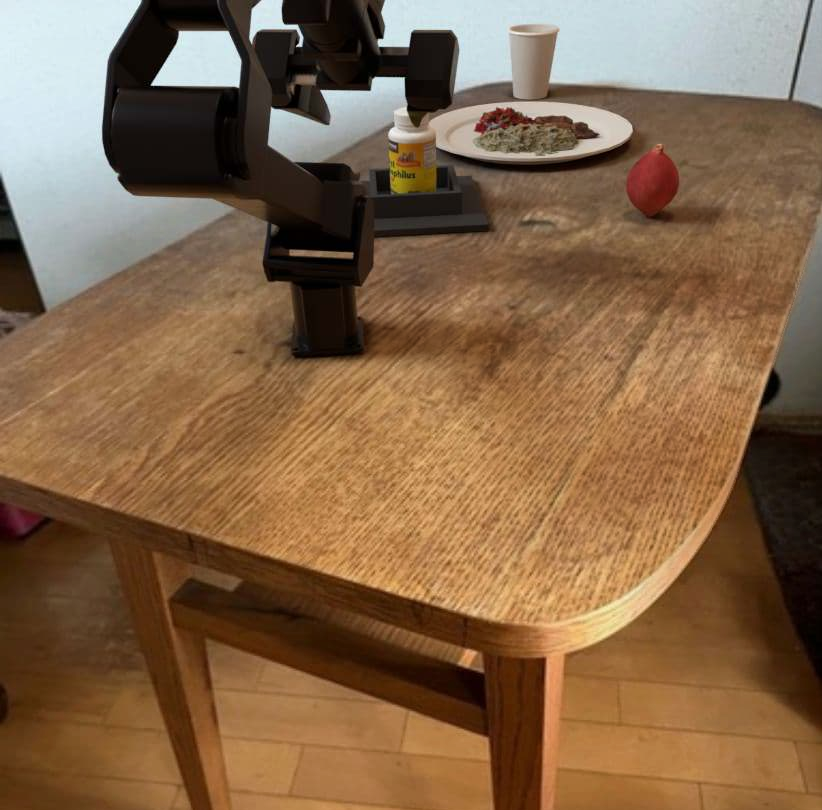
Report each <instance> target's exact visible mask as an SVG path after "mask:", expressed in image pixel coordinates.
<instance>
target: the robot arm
mask: <svg viewBox="0 0 822 810" xmlns="http://www.w3.org/2000/svg"><path fill="white" fill-rule="evenodd" d="M261 1H262V0H141V1H140V4H139V5H138V7H137V9H136V10H135V12H134V14H133V15H132V17H131V19H130V20H129V22H128V23H127V25H126V27H125V29H124V30H123V31H122V34H120V37H119V38H118V40H117V42H116V43H115V45H114V47H113V48H112V50H111V51H110V52H109V55H108V58H107V63H106V74H105V75H106V76H105V86H104V97H103V110H102V111H103V112H102V122H101V140H102V141H101V142H102V147H103V151H104V156H105V158H106V161H107V163H108V165H109V167H110V168H111V169H112V170H113V172H115V174H117V181H118V182H119V184H120V185H121V187H123V189H124V190H125V191H126V192H128V193H129V194H131V195H132V196H135V197H153V198H177V199H178V198H179V199H181V198H182V199H207V200H208V199H210V200H214V201H217V202H219V203H221V204H224V205H226V206H229V207H230V208H233V209H235V210H238V211H239V212H242V213H245V214H246V215H250V216H252V217H254V218H256V219H259V220H261V221H264V222H267V224H266V235H265V242H264V249H263V255H262V268H263V272H264V274H265V277H266V280H267V282H268V283H275V282H279V283H281V282H282V283H283V282H284V283H289V288H290V289H289V290H290V298H291V304H292V311H293V313H292V314H293V320H294V321H293V324H292V333H291V341H290V355H291V356H292V357H308V356H309V357H310V356H324V355H327V356H328V355H343V354H344V355H345V354H358V353H362V352H364V350H365V344H364V343H365V341H364V339H365V338H364V319H363V318H364V317H362V316H359V315H358V303H357V292H356V288H362V287H363V285H364V283H365V282H366V280H367V278H368V276H370V273H371V272H372V270H373V268H374V262H375V261H374V260H375V259H374V258H375V237H374V221H375V213H374V203H373V199H372V197H371V196H367V191H366V188H365V187H364V185H363V184H362V183H361V182H360V181H361V180H360V179H361V172H359V171H354V170H353V169H352V167H351V166H349V165H348V164H346V163H344V162H314V161H313V162H312V161H311V162H310V161H292V160H291V159H290V158H288V157H286V156H285V155H284V154H282V153H280V152H279V151H278V150H276V149H275V148H274V147H272V146H271V145H269V138H270V137H269V136H270V125H271V117H272V115H271V114H272V109H273V110H278V111H279V110H280V111H284V112H287V113H290V114H294V115H297V116H300V117H302V118H306V119H308V120H310V121H313V122H316V123H319V124H321V125H324V126H330V125H331V118H332V115H331V112H330V109H329V105H328V103H327V101H326V99H325V97H324V94H323V93H322V91H341V92H342V91H344V92H348V91H349V92H372V86H373V80H374V79H375V78H400V79H401V78H402V79H403V78H404V79H403V81H404V97H405V101H406V107H407V113H408V115H409V118H410V120H411V122H412V124H413V125H414V126H415V127H416V128H419V127H420V124H421V121H422V118H423V117H424V116H425V115H426V114H427V113H429V114H434V113H437V112H438V111H439V110H447V109H448V108H449V107H451V105H453V101H454V94H455V87H456V79H457V71H458V63H459V57H460V56H459V55H460V44H459V39H458V37H457V35H456V33H455V32H454V31H453V30H452V29H413V30H412V31H411V32H410V37H409V43H408V44H409V45H408V46H379V40H384V39H385V33H386V32H385V31H386V24H385V20H384V18H383V14H382V12H383V8H384V5H385V2H386V0H282V2H281V21H282V23H283V25H285V26H297V27H298V29H299V31H300V33H301V36H302V44H301V46H298V45H299V44H300V40H301V36H300V33H299V32H298V29H296V28H295V29H292V28H290V29H289V28H288V29H287V28H283V29H281V28H280V29H279V28H278V29H277V28H276V29H274V28H271V29H270V28H268V29H267V28H263V29H259V30H257V31H256V33H255V34H254V36H253V37H252V40H251V38H250V36H251V35H250V34H251V23H252V14H253V13H252V11H253V9H255V7H257V5H258V4H259V3H260V2H261ZM180 32H228V34H229V36H230V38H231V40H232V43H233V45H234V47H235V50H236V52H237V54H238V57H239V58H240V61H241V62H240V72H239V85H238V86H234V85H233V86H227V85H226V86H225V85H224V86H223V85H220V86H219V85H152V84H153V83H154V81H155V79H156V78H157V77H158V75H159V73H160V71H161V70H162V68H163V66H164V65H165V63H166V62H167V60H168V58H169V57H170V55H171V54H172V52H173V50H174V49H175V47H176V45H177V43H178V40H179V37H180ZM251 41H252V42H251ZM291 251H307V252H309V251H311V252H329V253H330V252H331V253H351V254H352V257H334V256H315V255H293V254H292V255H291V254H290V252H291Z"/></svg>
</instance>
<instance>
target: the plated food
mask: <svg viewBox="0 0 822 810" xmlns="http://www.w3.org/2000/svg"><path fill="white" fill-rule="evenodd" d="M429 126H431V127H432V128H434V130H435V132H436V148H438V149H440V150H443V151H446V152H449V153H452V154H456V155H459V156H463V157H466V158H468V159H471V160H476V161H481V162H487V163H492V164H501V165H516V166H517V165H518V166H519V165H520V166H521V165H522V166H526V165H527V166H532V165H550V164H559V163H566V162H572V161H576V160H581V159H584V158H589V157H590V156H594V155H598V154H601V153H605V152H608V151H611V150H613V149H615V148H618V147H620V146H622V145H623V144H625V143H626V142H628V141H629V140H630V139H631V137H632V135H633V125H632V124H631V123H630V121H629V120H628V119H626V118H625V117H623V116H621V115H619V114H618V113H614V112H611V111H609V110H605V109H602V108H598V107H594V106H588V105H582V104H575V103H567V102H556V101H554V102H553V101H506V102H505V101H504V102H495V103H486V104H479V105H472V106H467V107H463V108H458V109H453V110H452V111H448V112H444V113H442V114H440V115H438V116H436V117H434V118H432V119H431V120H429Z"/></svg>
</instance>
